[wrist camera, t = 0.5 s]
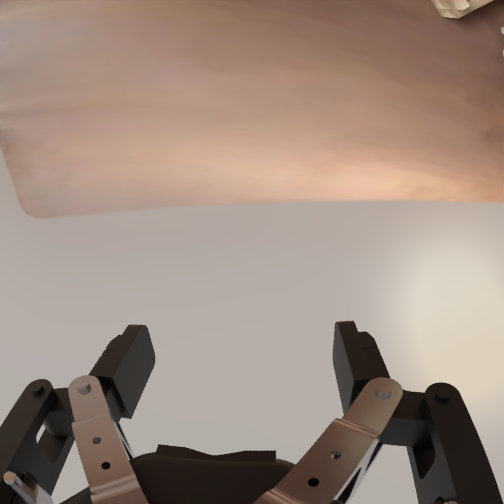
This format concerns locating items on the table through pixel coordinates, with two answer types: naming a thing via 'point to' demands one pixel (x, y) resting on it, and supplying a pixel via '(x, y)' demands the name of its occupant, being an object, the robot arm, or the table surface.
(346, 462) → the robot arm
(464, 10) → the frame
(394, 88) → the table surface
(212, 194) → the table surface
